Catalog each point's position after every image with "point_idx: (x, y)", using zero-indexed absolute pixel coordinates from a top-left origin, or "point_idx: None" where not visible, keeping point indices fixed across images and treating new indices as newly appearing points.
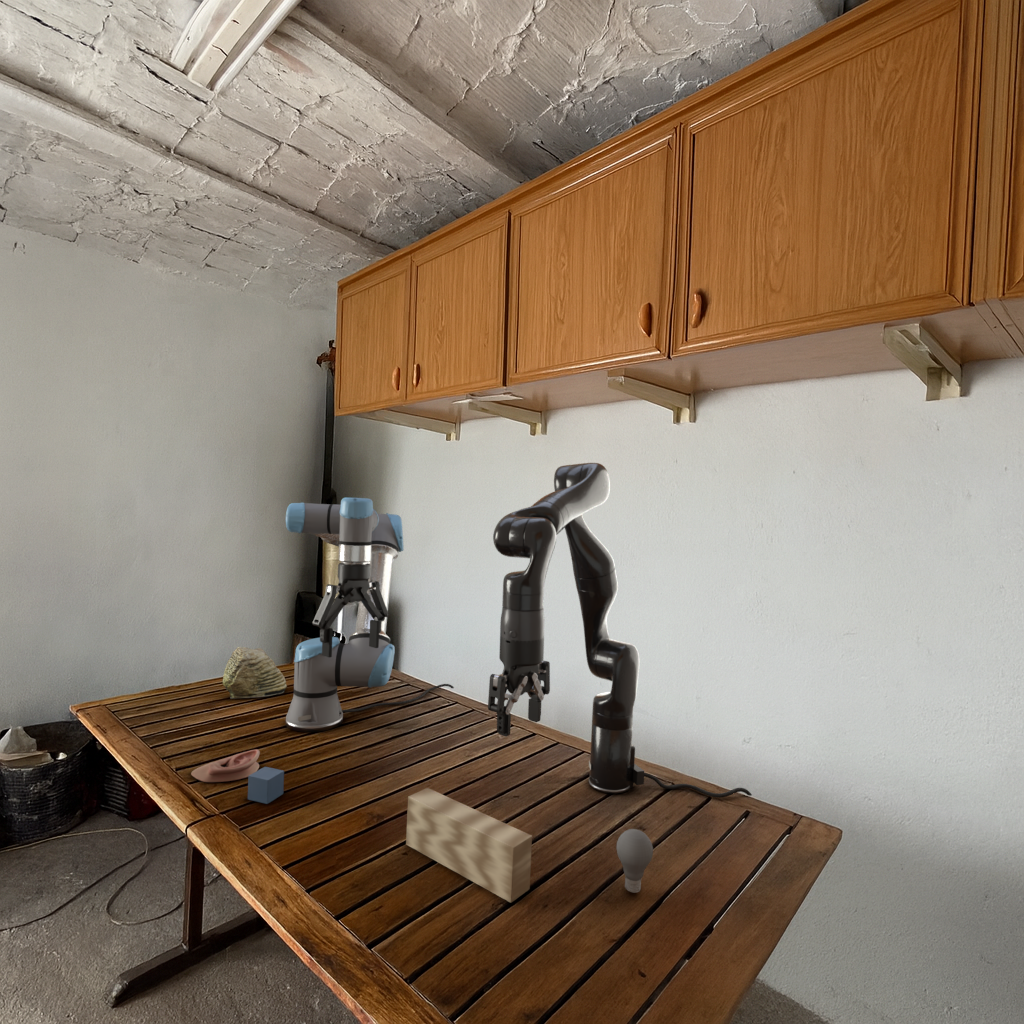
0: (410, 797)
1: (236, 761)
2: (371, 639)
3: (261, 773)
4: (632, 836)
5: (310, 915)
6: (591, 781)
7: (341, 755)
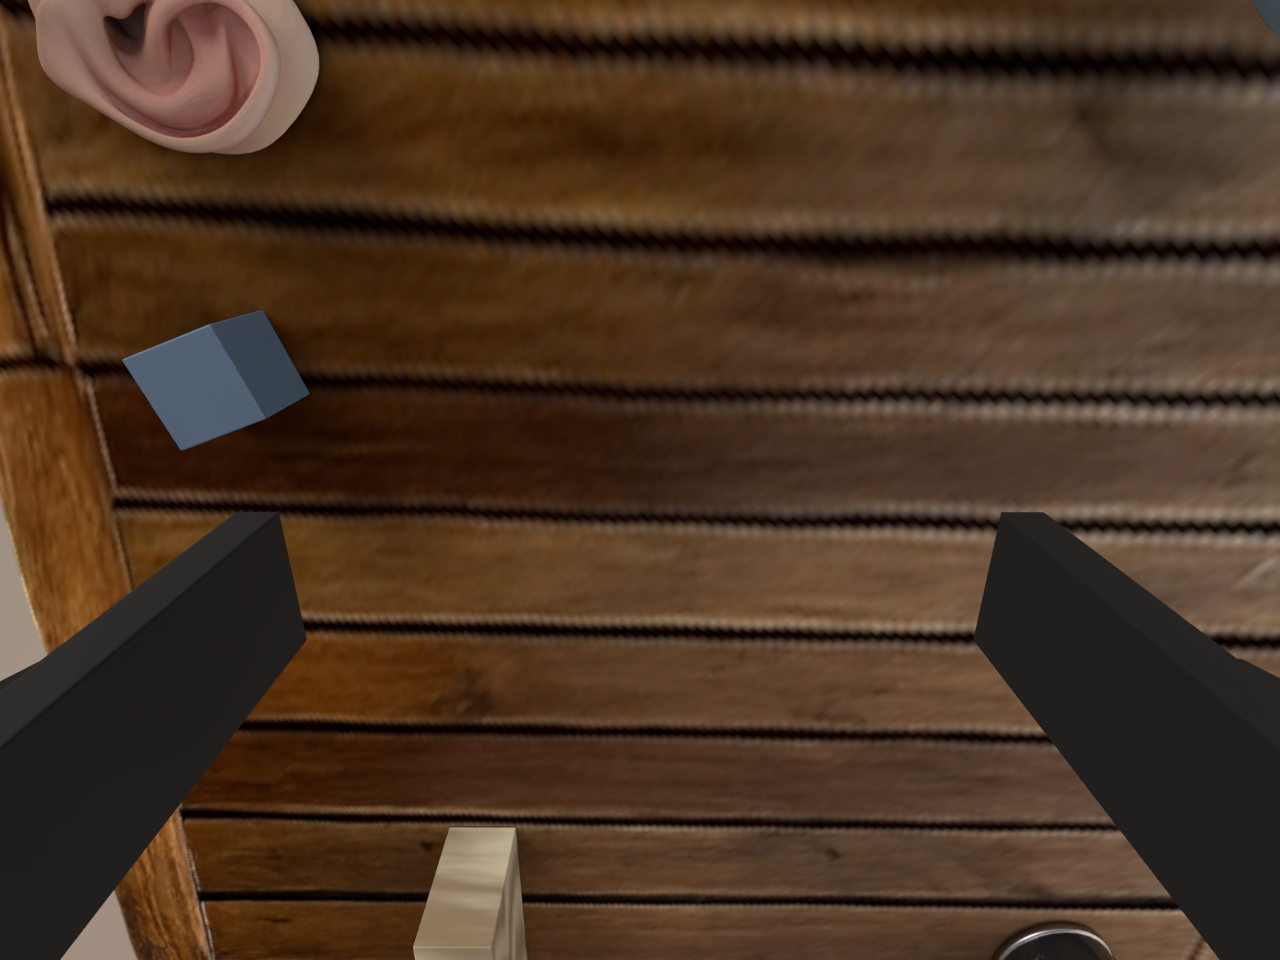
0: (414, 954)
1: (185, 31)
2: (1047, 610)
3: (175, 378)
4: None
5: (160, 866)
6: (1014, 955)
7: (674, 246)
